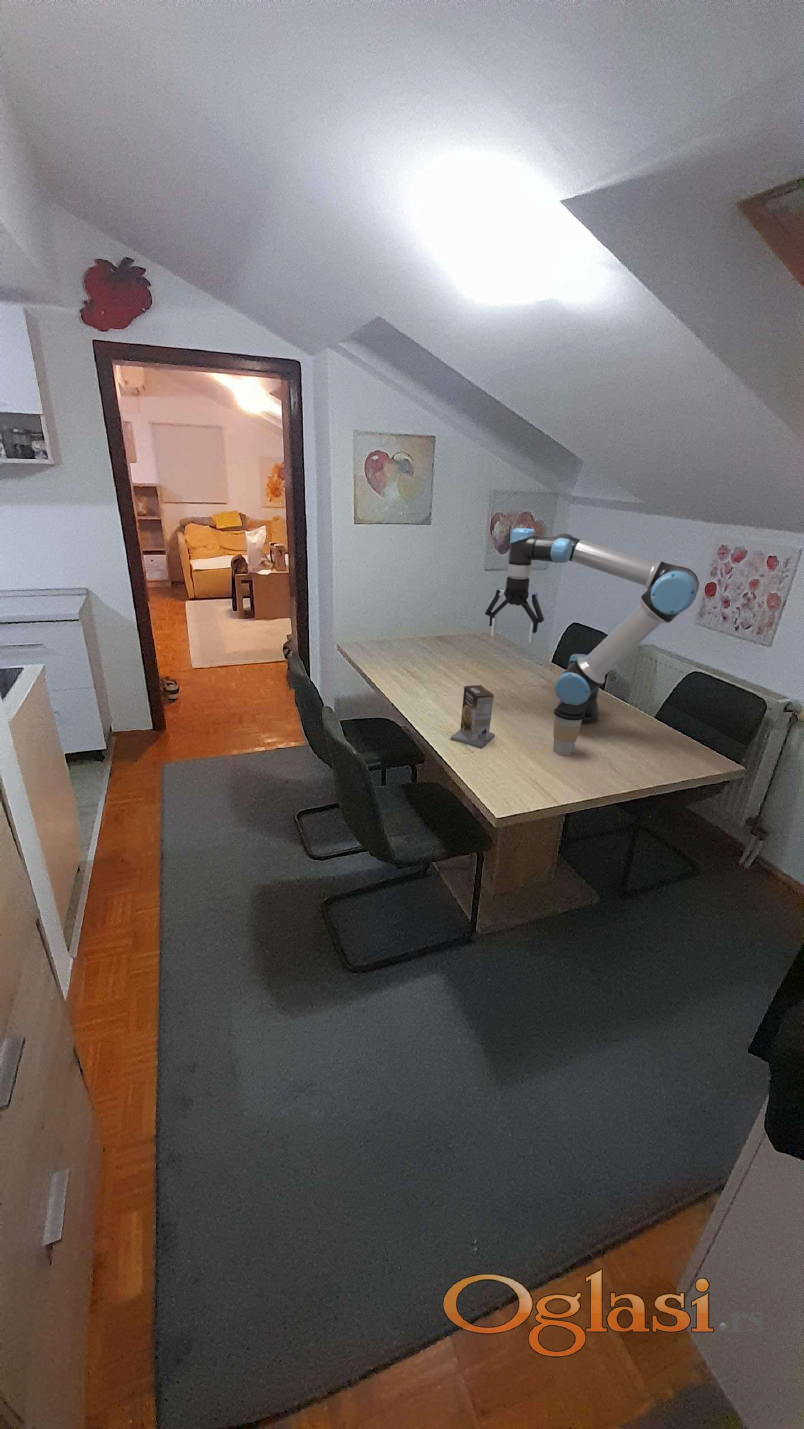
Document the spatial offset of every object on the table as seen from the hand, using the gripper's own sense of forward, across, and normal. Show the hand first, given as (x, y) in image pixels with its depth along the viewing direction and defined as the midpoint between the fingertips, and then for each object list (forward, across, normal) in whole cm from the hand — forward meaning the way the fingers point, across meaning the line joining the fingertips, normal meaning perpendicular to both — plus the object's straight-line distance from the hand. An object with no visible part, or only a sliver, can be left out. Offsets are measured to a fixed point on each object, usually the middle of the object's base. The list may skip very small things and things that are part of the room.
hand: (511, 638), depth 204 cm
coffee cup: (+29, -26, +19) cm, 44 cm away
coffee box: (+27, +2, +26) cm, 38 cm away
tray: (+28, +2, +26) cm, 38 cm away
